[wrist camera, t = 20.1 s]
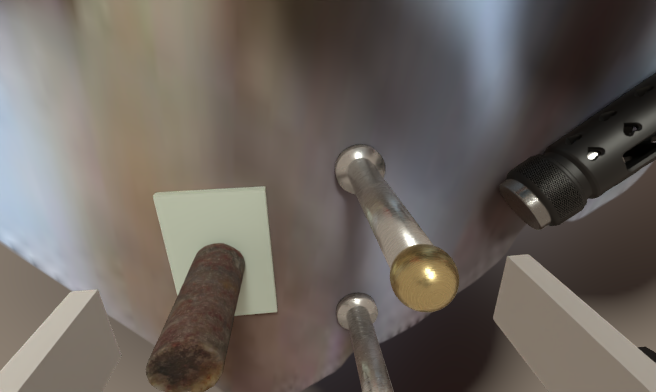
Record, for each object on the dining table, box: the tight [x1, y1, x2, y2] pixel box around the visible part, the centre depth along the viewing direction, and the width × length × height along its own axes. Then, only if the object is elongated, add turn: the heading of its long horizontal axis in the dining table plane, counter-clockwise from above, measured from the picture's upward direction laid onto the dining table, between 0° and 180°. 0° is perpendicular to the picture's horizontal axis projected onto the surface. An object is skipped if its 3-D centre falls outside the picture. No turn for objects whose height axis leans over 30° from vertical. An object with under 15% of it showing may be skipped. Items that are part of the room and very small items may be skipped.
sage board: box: [153, 186, 277, 316], centre depth 52 cm, size 15×22×1 cm
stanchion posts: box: [335, 144, 459, 392], centre depth 41 cm, size 7×33×28 cm, turn 1°
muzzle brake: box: [499, 73, 656, 230], centre depth 46 cm, size 10×28×10 cm, turn 128°
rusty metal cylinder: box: [146, 243, 245, 392], centre depth 42 cm, size 8×7×20 cm
